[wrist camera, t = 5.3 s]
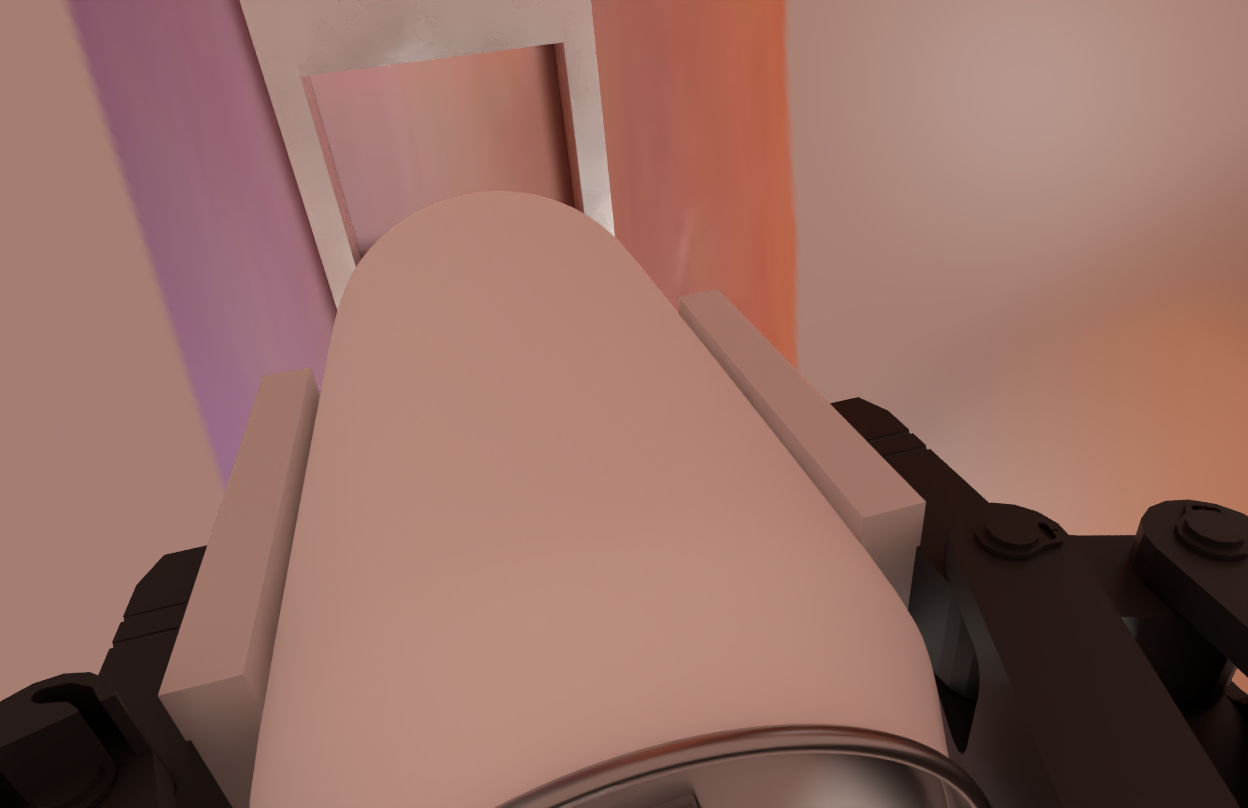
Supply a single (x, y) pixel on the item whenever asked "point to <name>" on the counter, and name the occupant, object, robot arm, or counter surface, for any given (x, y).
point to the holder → (408, 32)
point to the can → (571, 558)
